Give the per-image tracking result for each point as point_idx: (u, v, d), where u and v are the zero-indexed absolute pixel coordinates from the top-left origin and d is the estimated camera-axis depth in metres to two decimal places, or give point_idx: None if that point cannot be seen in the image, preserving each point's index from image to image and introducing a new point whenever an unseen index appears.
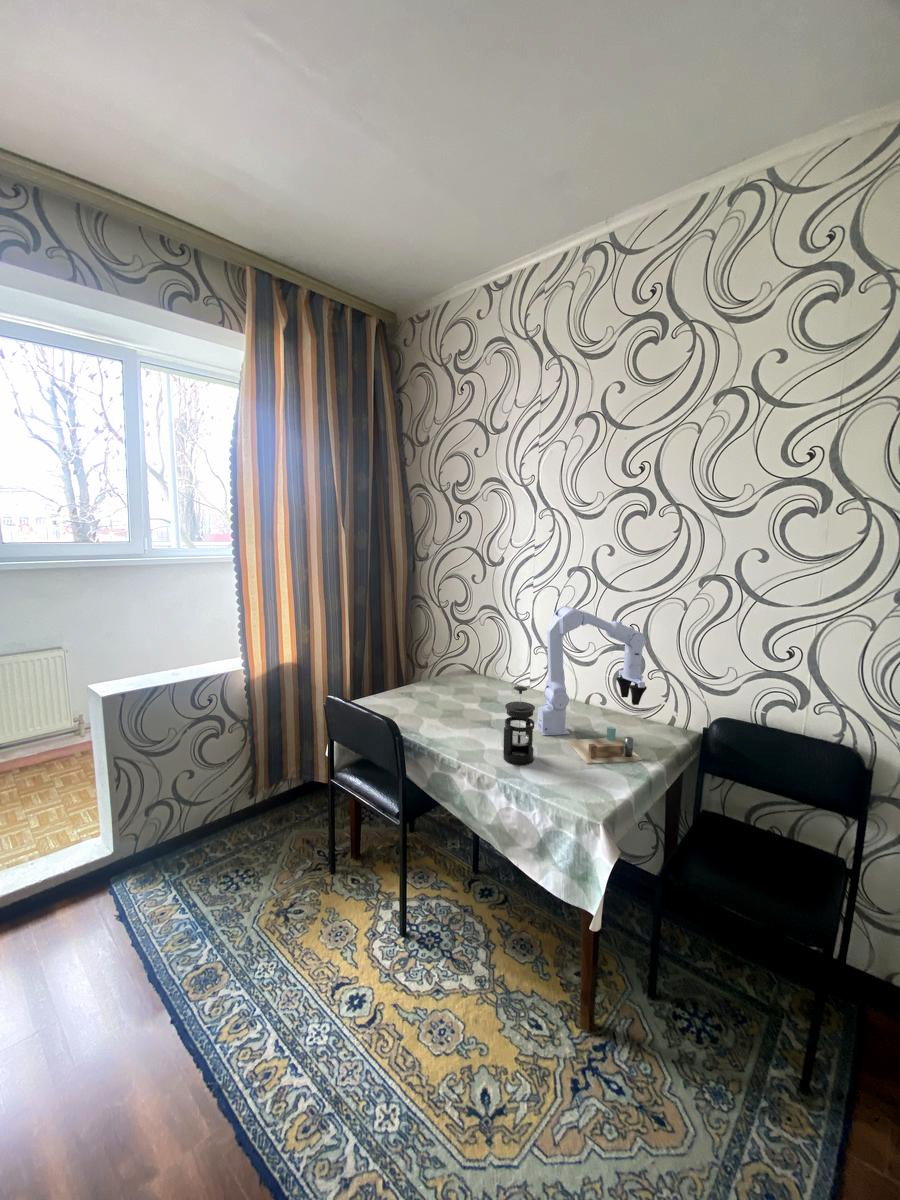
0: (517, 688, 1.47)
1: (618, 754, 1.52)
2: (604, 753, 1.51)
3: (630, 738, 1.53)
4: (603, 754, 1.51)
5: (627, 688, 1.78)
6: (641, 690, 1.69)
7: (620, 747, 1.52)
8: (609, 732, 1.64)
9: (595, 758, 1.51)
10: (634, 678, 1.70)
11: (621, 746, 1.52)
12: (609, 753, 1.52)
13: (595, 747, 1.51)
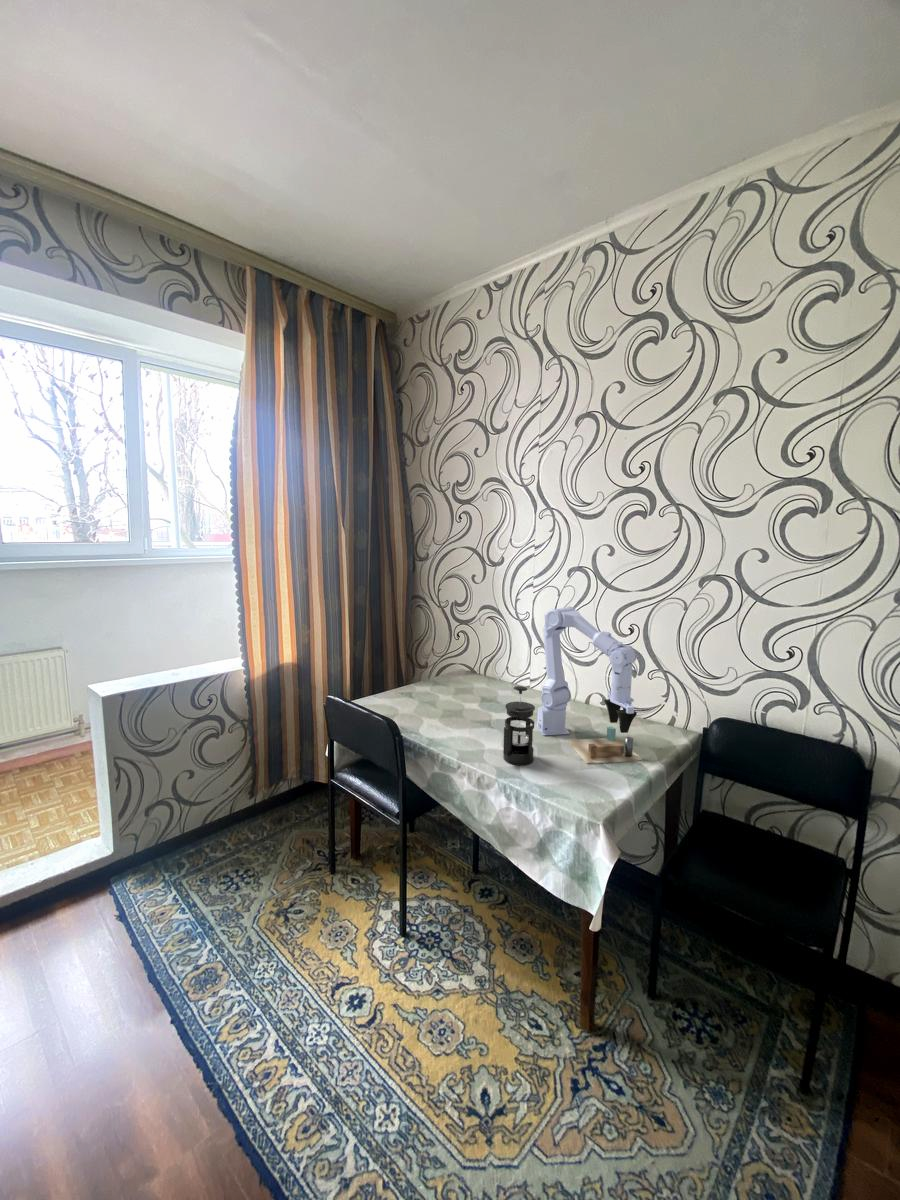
0: (517, 688, 1.47)
1: (618, 754, 1.52)
2: (604, 753, 1.51)
3: (630, 738, 1.53)
4: (603, 754, 1.51)
5: (616, 712, 1.56)
6: (630, 716, 1.47)
7: (620, 747, 1.52)
8: (609, 732, 1.64)
9: (595, 758, 1.51)
10: (622, 702, 1.48)
11: (621, 746, 1.52)
12: (609, 753, 1.52)
13: (595, 747, 1.51)
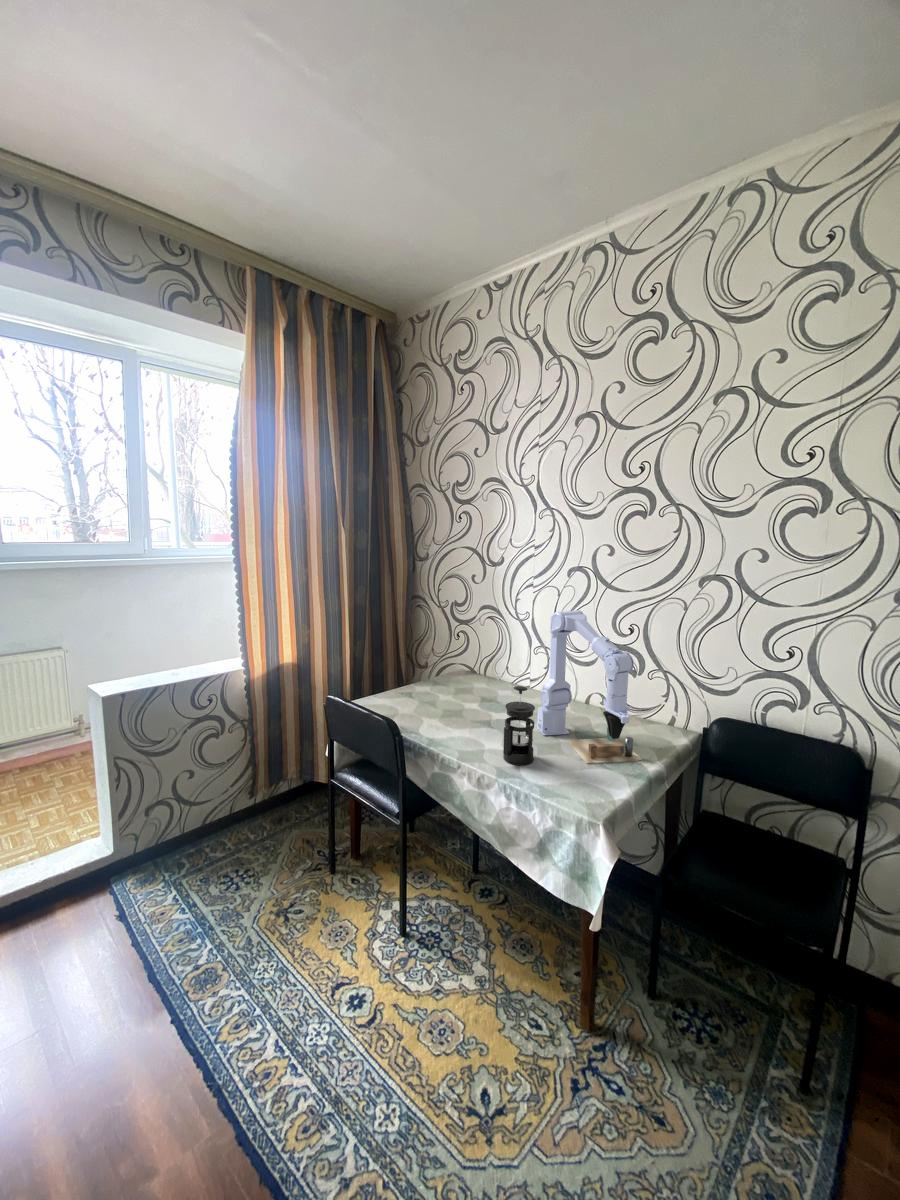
0: (517, 688, 1.47)
1: (618, 754, 1.52)
2: (604, 753, 1.51)
3: (630, 738, 1.53)
4: (603, 754, 1.51)
5: None
6: None
7: (620, 747, 1.52)
8: None
9: (595, 758, 1.51)
10: (618, 711, 1.41)
11: (621, 746, 1.52)
12: (609, 753, 1.52)
13: (595, 747, 1.51)
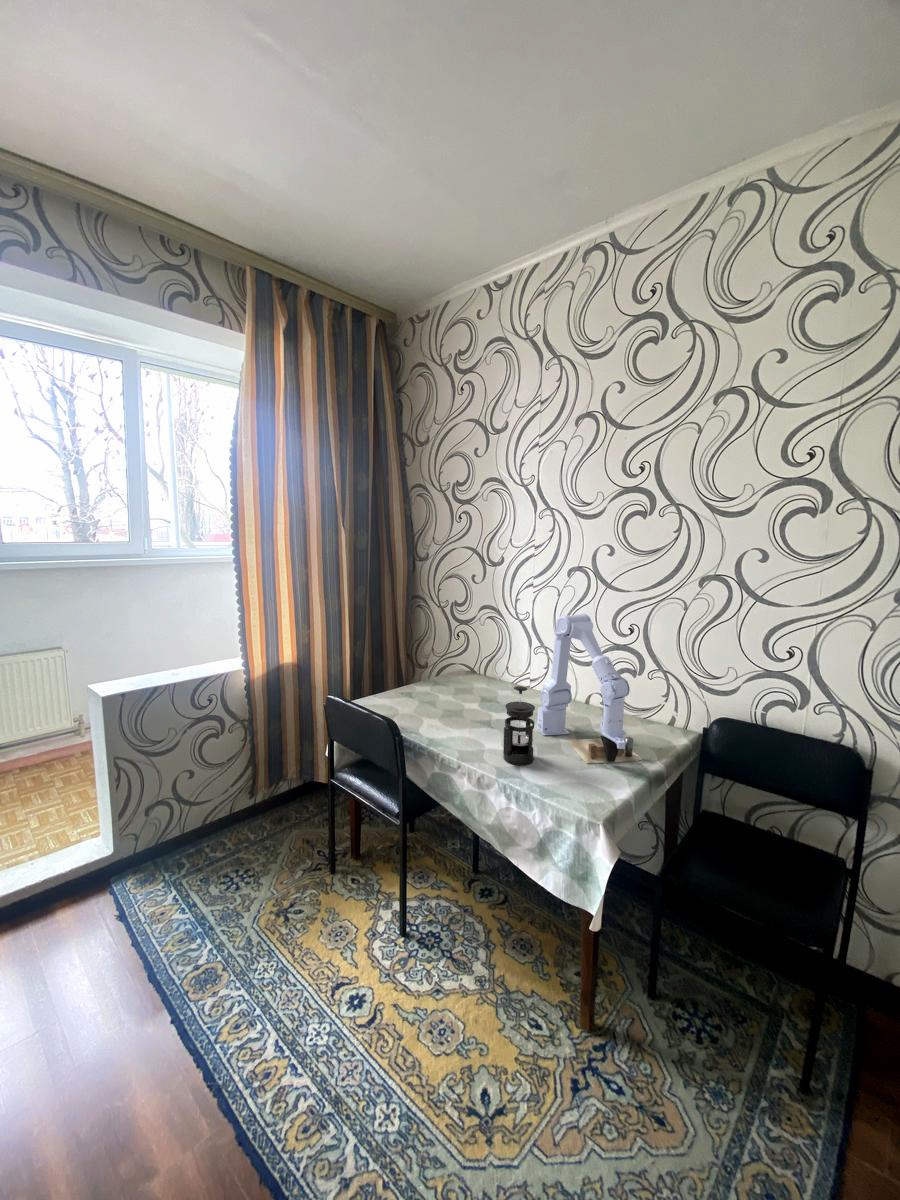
0: (517, 688, 1.47)
1: (618, 754, 1.52)
2: (604, 753, 1.51)
3: (630, 738, 1.53)
4: (603, 754, 1.51)
5: None
6: (617, 745, 1.46)
7: None
8: None
9: (595, 758, 1.51)
10: (614, 736, 1.44)
11: None
12: None
13: (595, 747, 1.51)
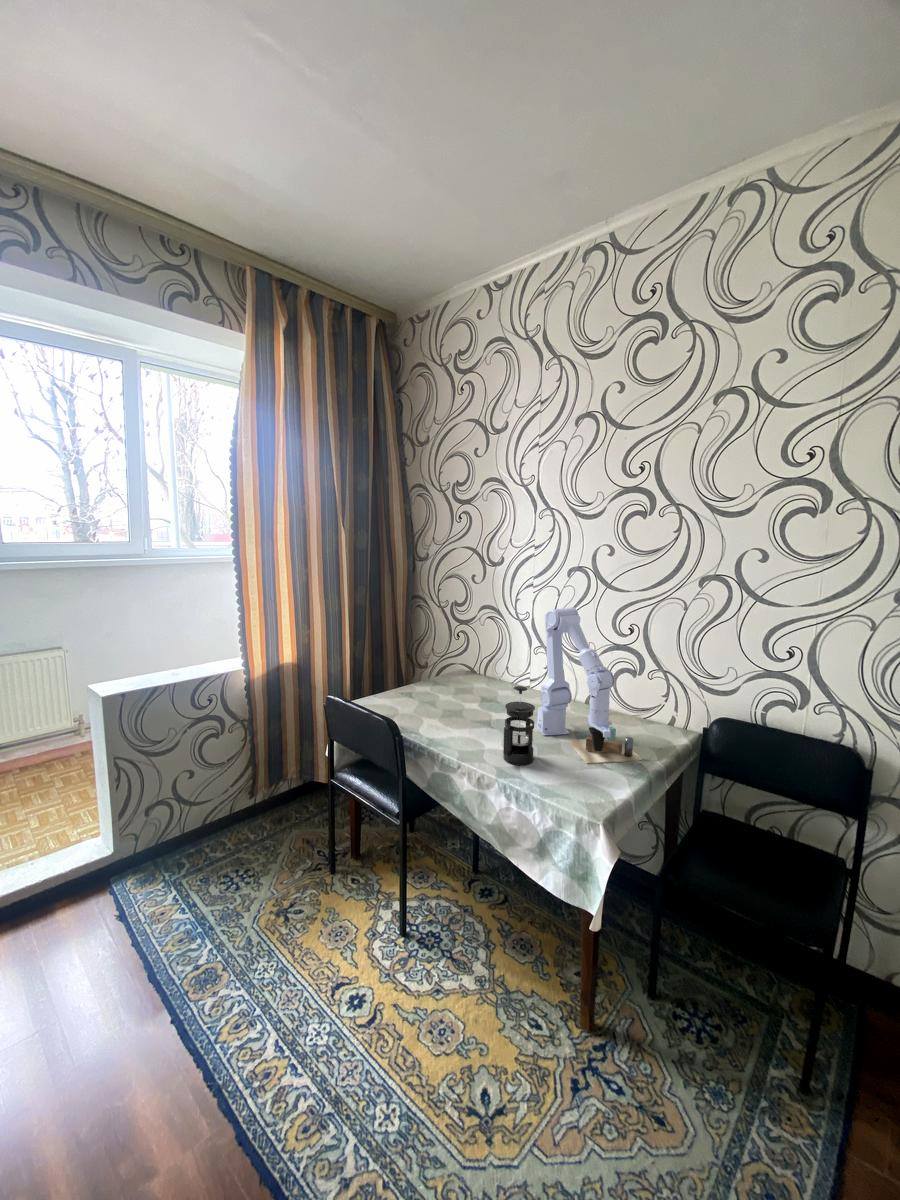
0: (517, 688, 1.47)
1: (616, 752, 1.54)
2: None
3: (630, 738, 1.53)
4: None
5: (601, 740, 1.53)
6: (603, 734, 1.52)
7: (618, 745, 1.53)
8: None
9: (595, 758, 1.51)
10: (600, 725, 1.50)
11: (619, 744, 1.53)
12: (606, 749, 1.54)
13: (590, 740, 1.55)
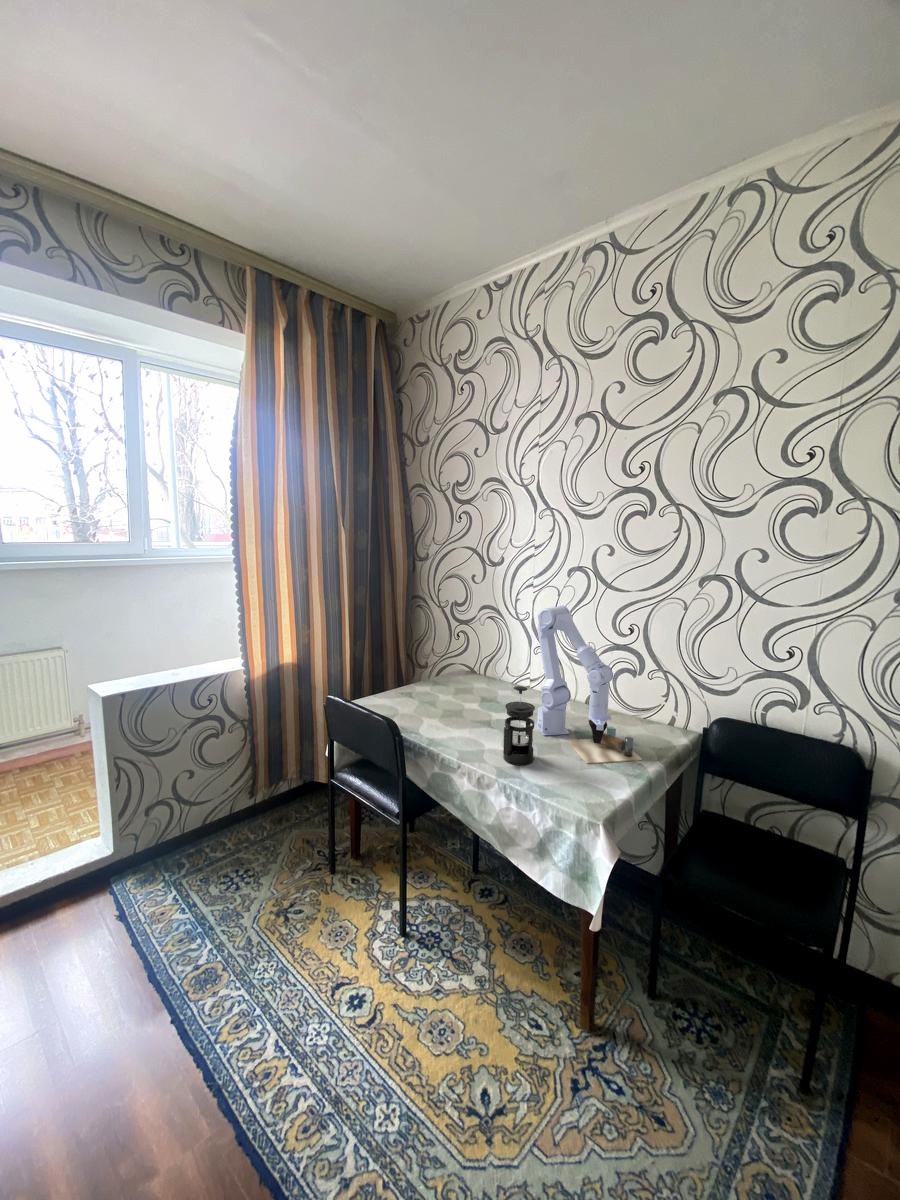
0: (517, 688, 1.47)
1: (616, 749, 1.56)
2: (604, 741, 1.60)
3: (630, 738, 1.53)
4: (603, 742, 1.60)
5: (600, 733, 1.59)
6: None
7: (618, 742, 1.55)
8: (609, 732, 1.64)
9: (595, 758, 1.51)
10: (597, 719, 1.56)
11: (619, 742, 1.55)
12: (608, 743, 1.58)
13: None
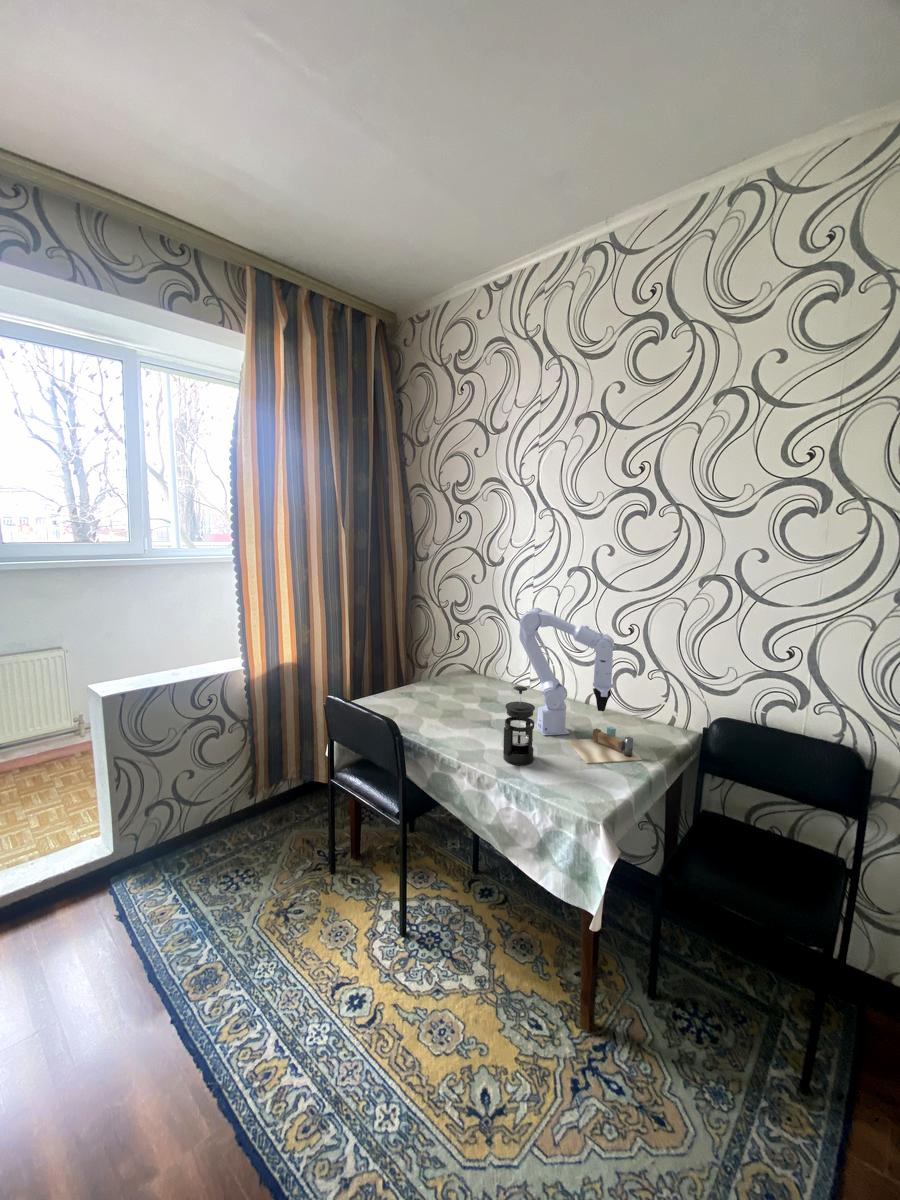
0: (517, 688, 1.47)
1: (616, 749, 1.56)
2: (604, 741, 1.60)
3: (630, 738, 1.53)
4: (603, 742, 1.60)
5: None
6: (605, 696, 1.63)
7: (618, 742, 1.55)
8: (609, 732, 1.64)
9: (595, 758, 1.51)
10: (601, 686, 1.61)
11: (619, 742, 1.55)
12: (608, 743, 1.58)
13: (596, 732, 1.62)
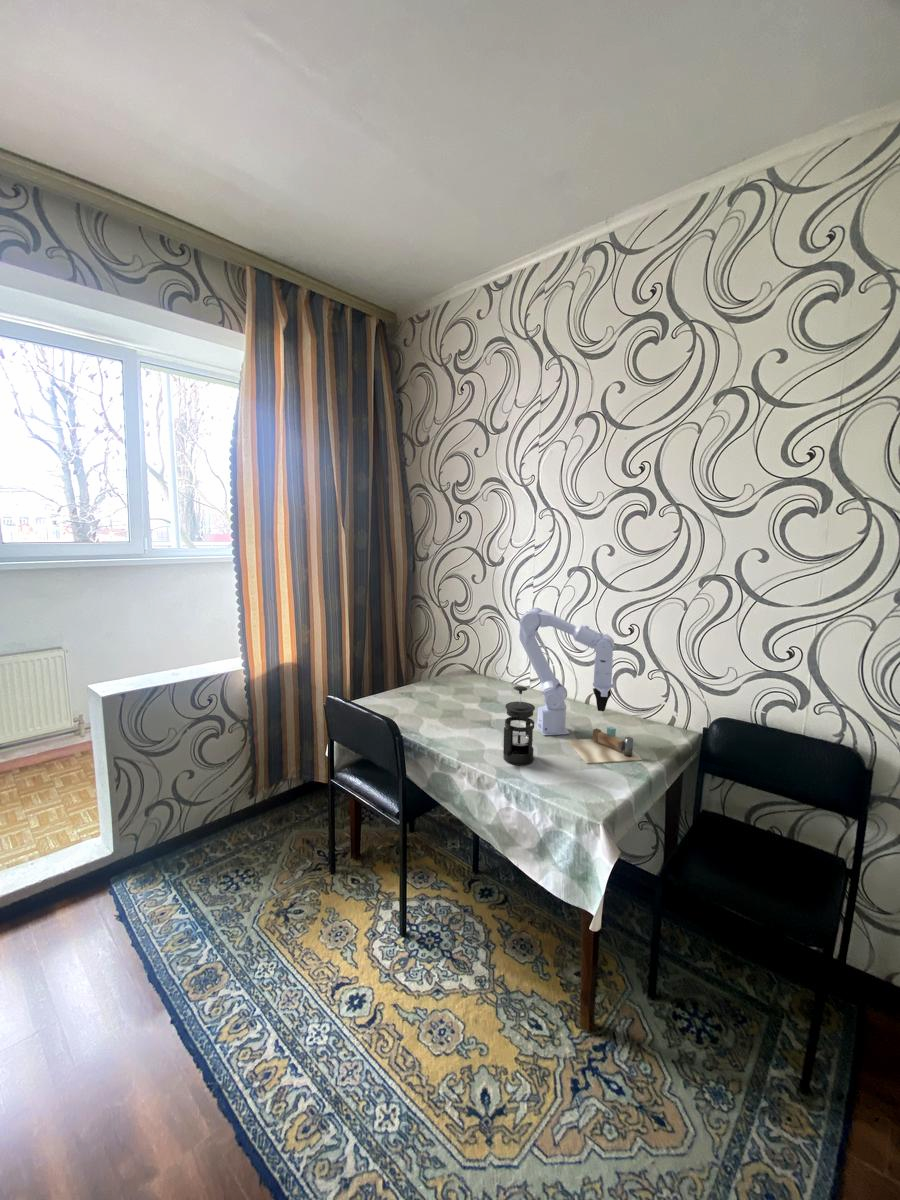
0: (517, 688, 1.47)
1: (616, 749, 1.56)
2: (604, 741, 1.60)
3: (630, 738, 1.53)
4: (603, 742, 1.60)
5: None
6: (605, 696, 1.63)
7: (618, 742, 1.55)
8: (609, 732, 1.64)
9: (595, 758, 1.51)
10: (601, 686, 1.61)
11: (619, 742, 1.55)
12: (608, 743, 1.58)
13: (596, 732, 1.62)
